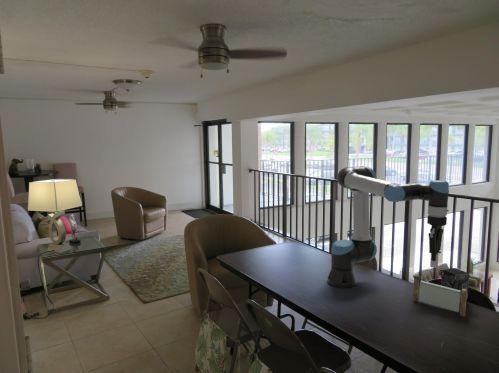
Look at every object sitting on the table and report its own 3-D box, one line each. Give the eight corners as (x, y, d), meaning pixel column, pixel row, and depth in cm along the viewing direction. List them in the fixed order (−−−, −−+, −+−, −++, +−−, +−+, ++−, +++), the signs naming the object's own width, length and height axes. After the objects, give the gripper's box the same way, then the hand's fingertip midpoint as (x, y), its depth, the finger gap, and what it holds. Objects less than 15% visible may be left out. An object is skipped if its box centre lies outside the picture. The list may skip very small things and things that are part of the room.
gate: (419, 300, 171) (420, 281, 170) (420, 299, 172) (421, 280, 171) (458, 312, 159) (459, 291, 158) (459, 310, 160) (460, 290, 159)
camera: (455, 306, 167) (457, 276, 165) (438, 297, 177) (439, 268, 175) (472, 303, 169) (475, 274, 167) (454, 294, 179) (456, 266, 178)
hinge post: (410, 300, 173) (412, 276, 171) (413, 298, 175) (414, 274, 174) (417, 302, 171) (418, 277, 169) (419, 300, 173) (421, 276, 171)
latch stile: (459, 315, 159) (461, 289, 157) (461, 313, 160) (463, 288, 159) (464, 316, 157) (466, 291, 156) (465, 314, 159) (467, 289, 158)
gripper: (441, 219, 147) (438, 273, 150) (451, 214, 156) (447, 265, 159) (423, 216, 152) (420, 268, 155) (432, 212, 161) (429, 261, 164)
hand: (433, 267), depth 157 cm, fingers closed
